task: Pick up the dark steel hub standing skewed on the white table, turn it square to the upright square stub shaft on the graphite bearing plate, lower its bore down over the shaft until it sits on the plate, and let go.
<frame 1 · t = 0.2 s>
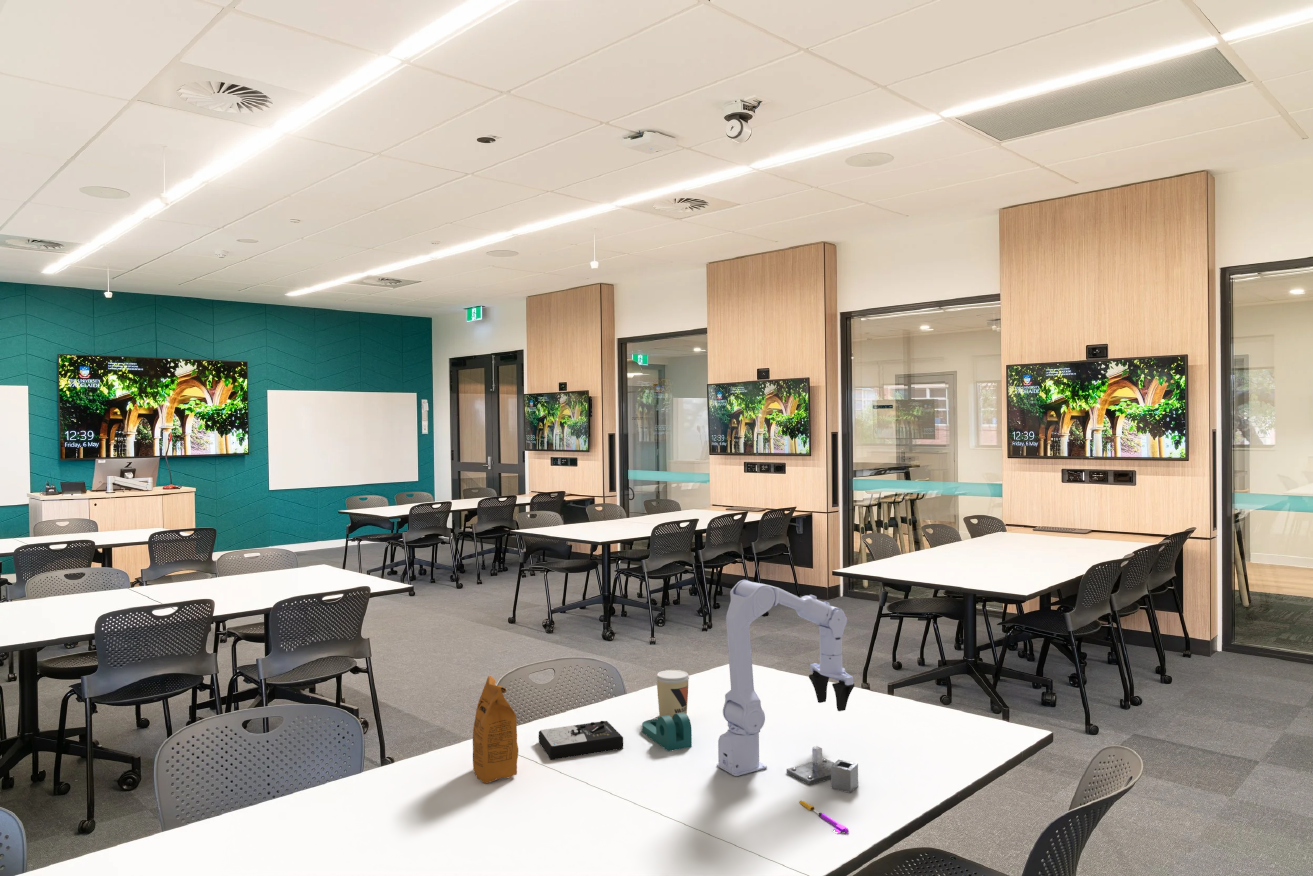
hand: (831, 706, 214), 10 cm above the table, tool pointing down, fingers open, 7 cm apart
bracket: (664, 739, 221), on the table
purple and orange rod: (819, 821, 174), on the table
coffee cup: (673, 717, 238), on the table
coffee package: (494, 774, 199), on the table
steel hub: (844, 787, 189), on the table
bearing plate: (817, 773, 197), on the table
black printed box: (580, 748, 217), on the table
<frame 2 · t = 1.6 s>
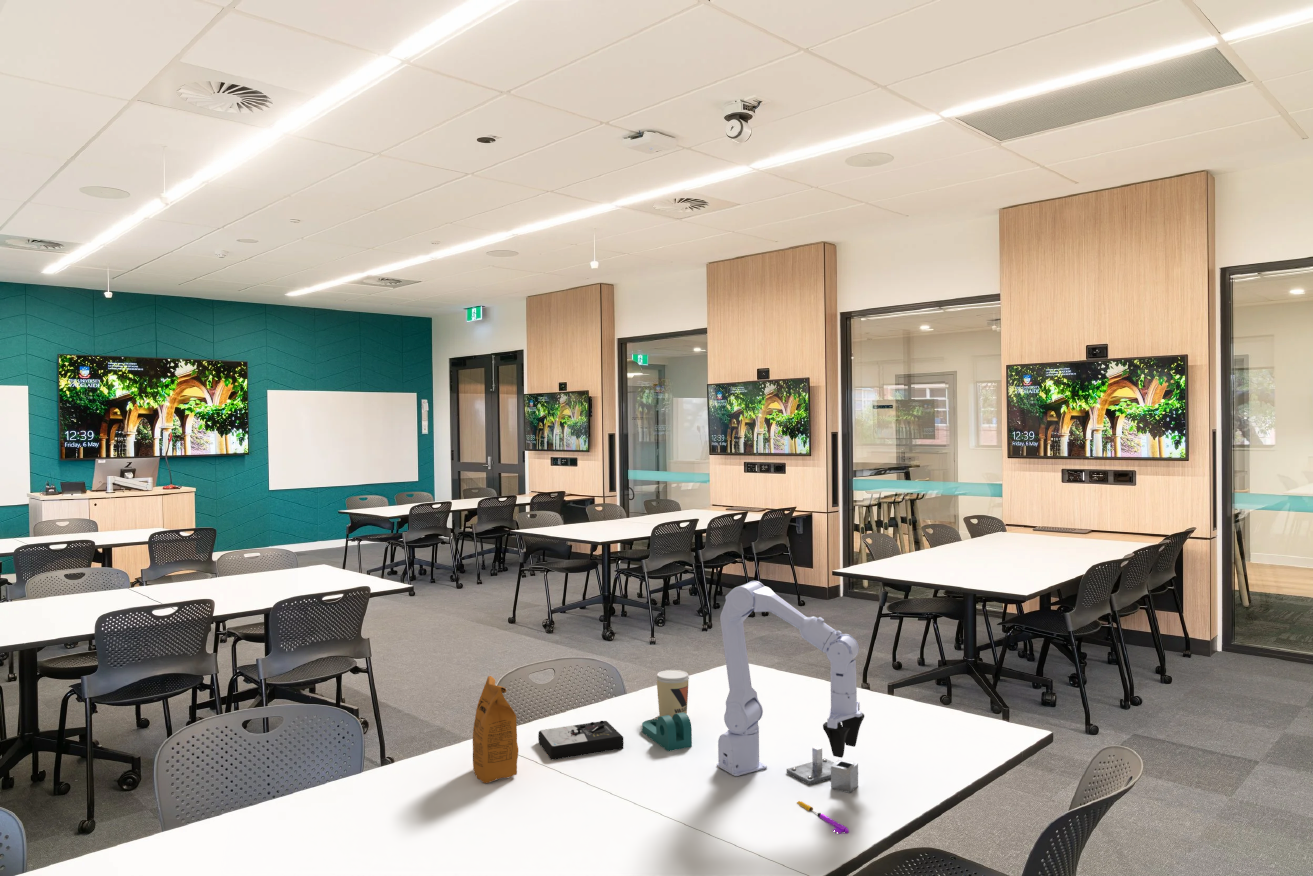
hand: (844, 751, 189), 8 cm above the table, tool pointing down, fingers open, 7 cm apart
nothing on the table moved.
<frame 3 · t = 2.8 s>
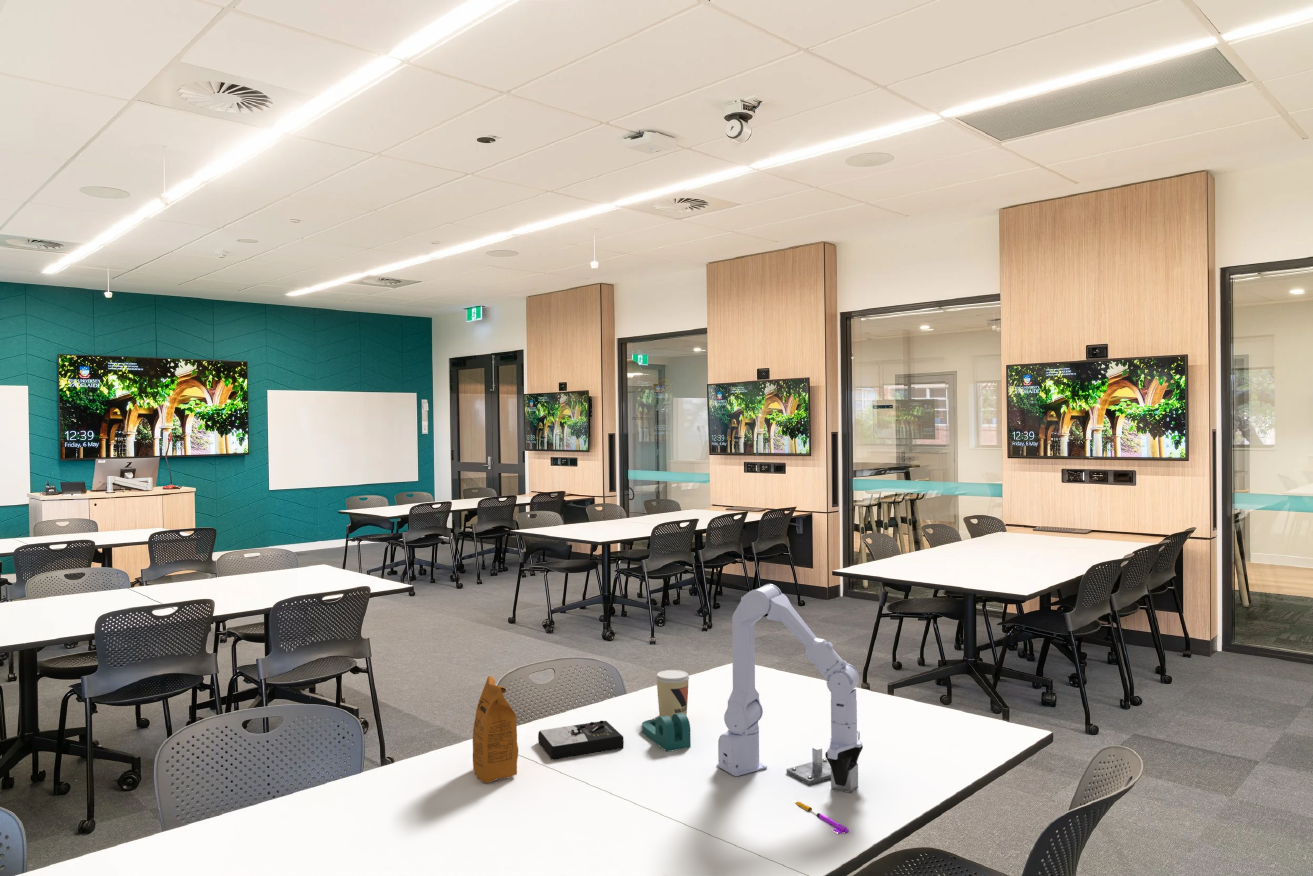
hand: (844, 780, 189), 1 cm above the table, tool pointing down, fingers closed on steel hub, 5 cm apart
steel hub: (844, 787, 189), on the table, touching gripper
everything else where it was.
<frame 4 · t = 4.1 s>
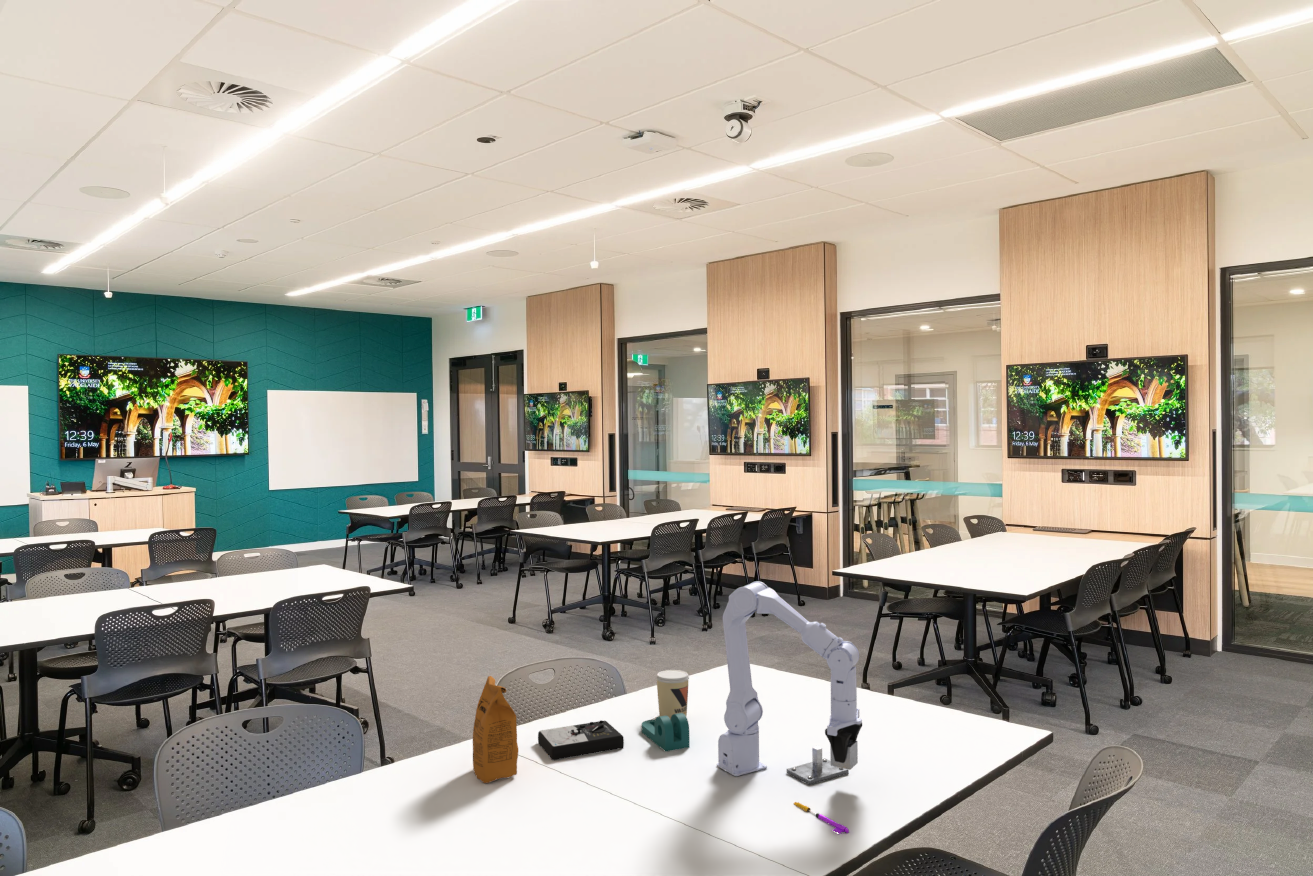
hand: (844, 758, 189), 7 cm above the table, tool pointing down, fingers closed on steel hub, 5 cm apart
steel hub: (844, 764, 189), point 5 cm above the table, touching gripper
everything else where it was.
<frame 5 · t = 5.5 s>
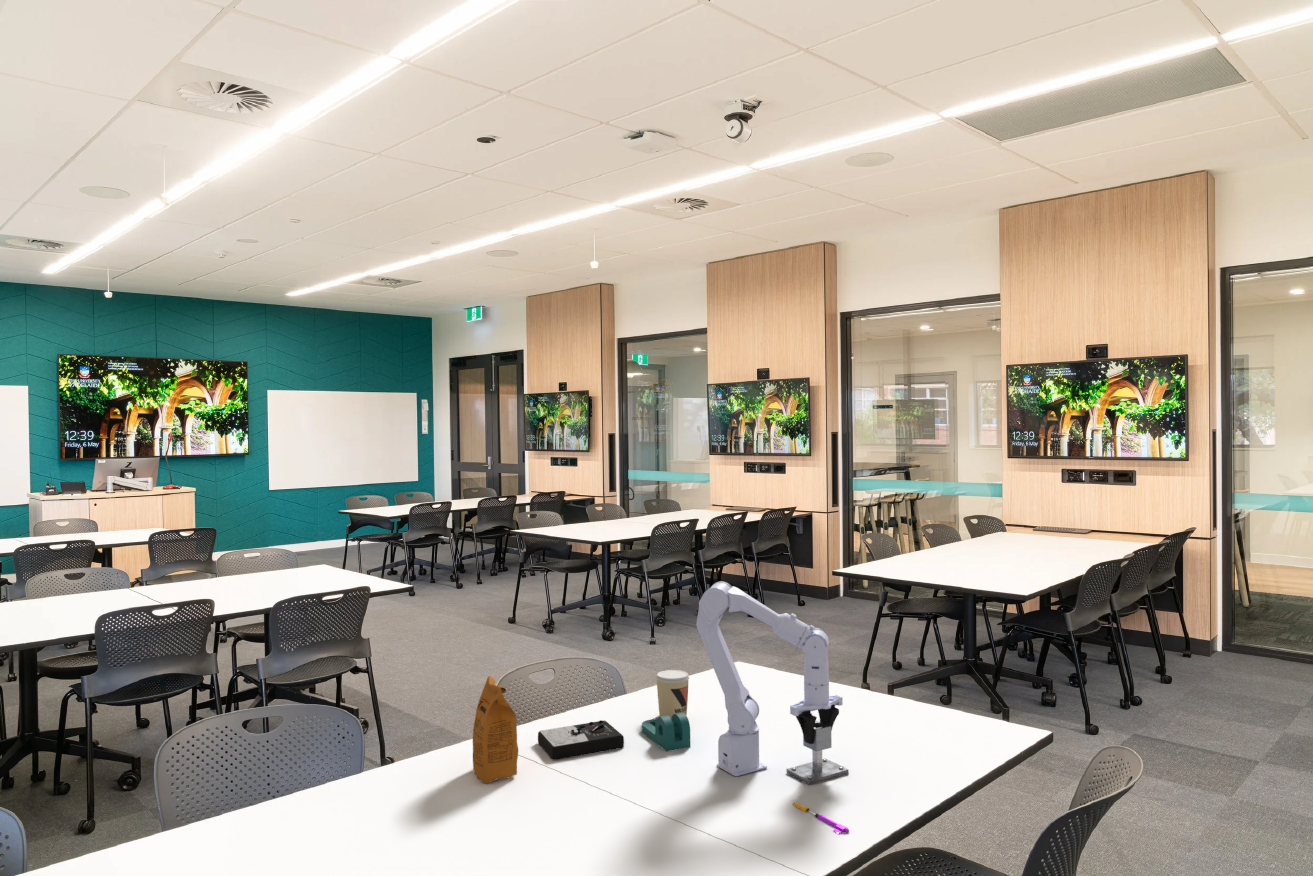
hand: (817, 740, 197), 8 cm above the table, tool pointing down, fingers closed on steel hub, 5 cm apart
steel hub: (817, 746, 197), point 6 cm above the table, touching gripper
everything else where it was.
when the fingers open (4 cm above the table, at t = 6.9 s): steel hub drops 1 cm, resting on bearing plate.
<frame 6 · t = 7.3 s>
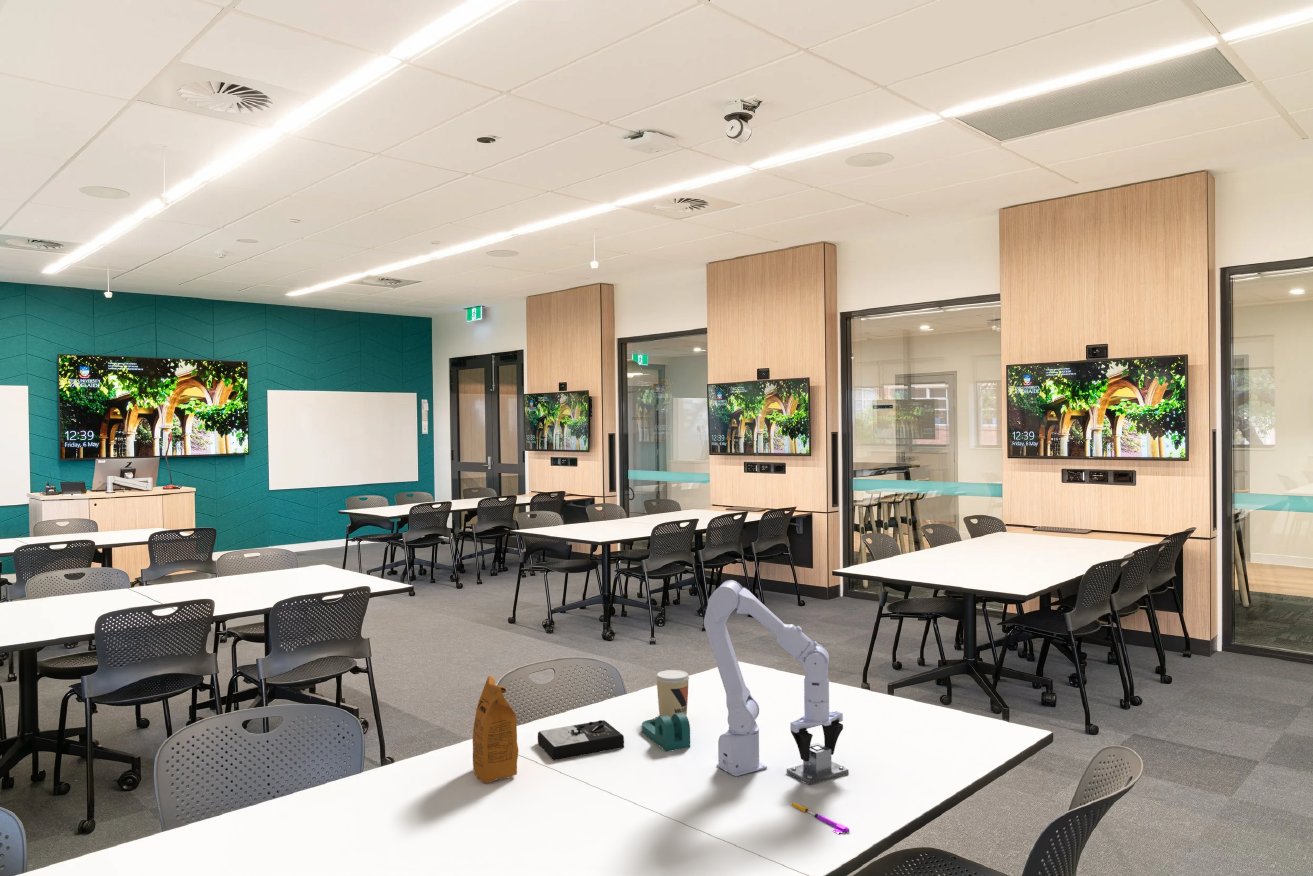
hand: (817, 756, 197), 4 cm above the table, tool pointing down, fingers open, 7 cm apart
steel hub: (817, 769, 197), point 1 cm above the table, touching bearing plate
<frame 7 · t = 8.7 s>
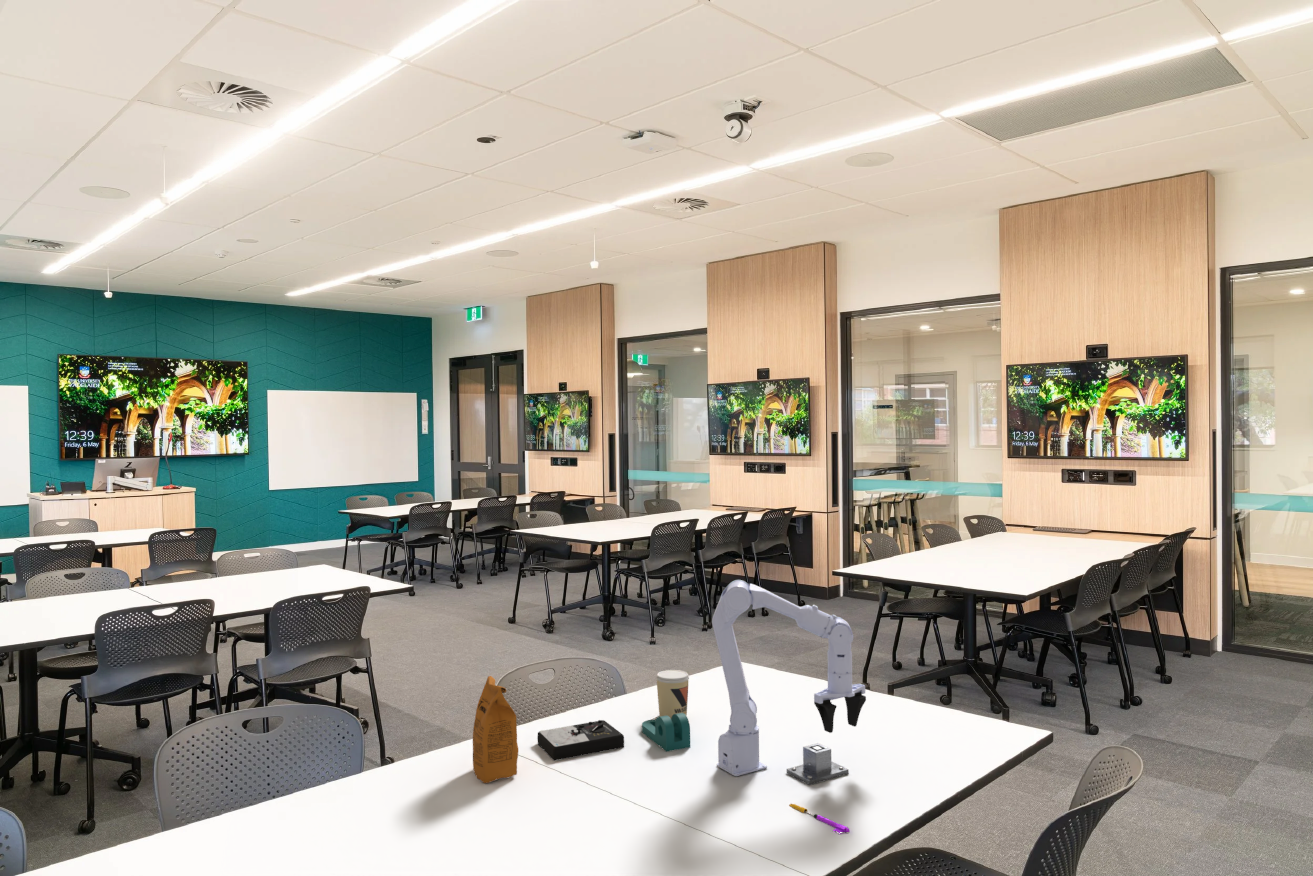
hand: (840, 728, 199), 10 cm above the table, tool pointing down, fingers open, 7 cm apart
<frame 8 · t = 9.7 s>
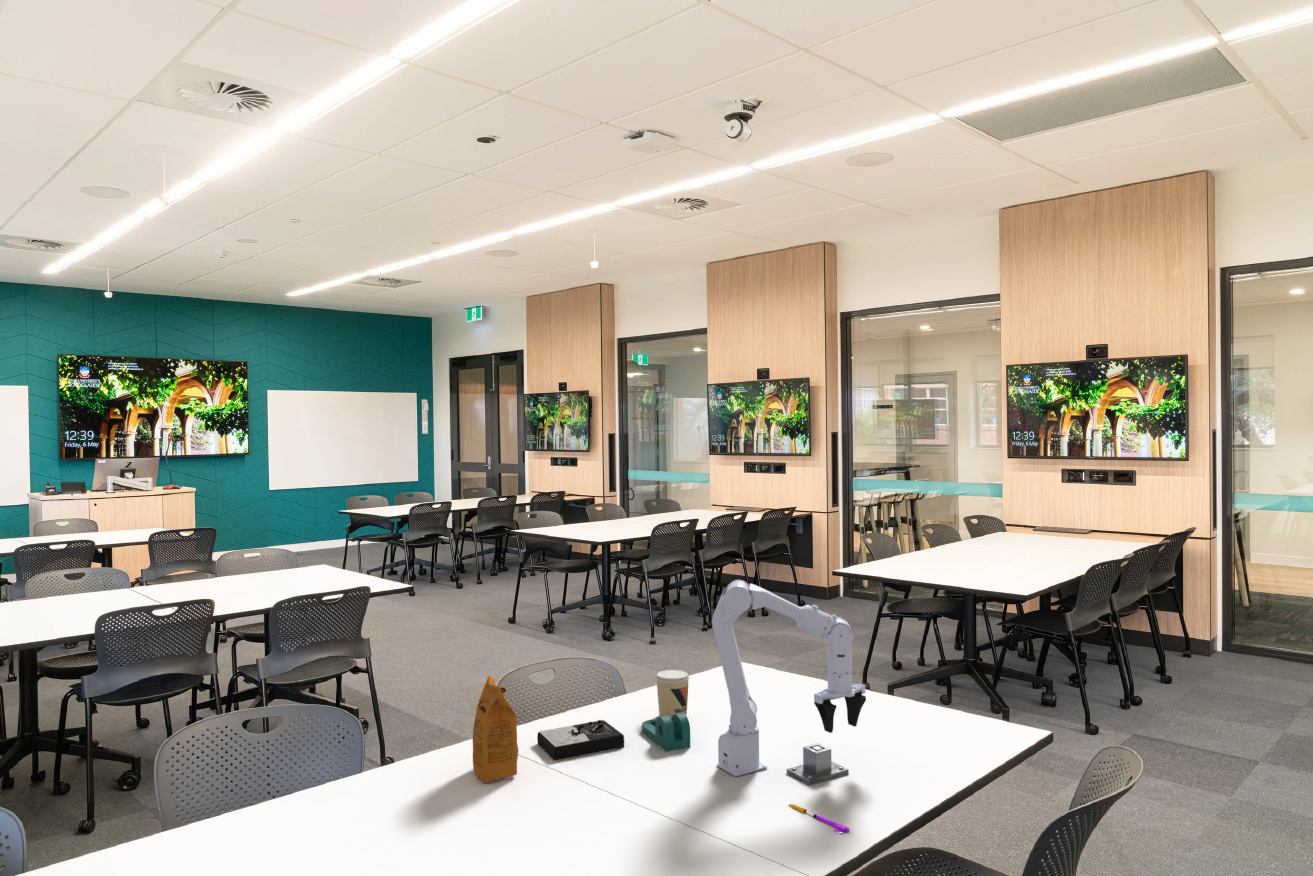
hand: (840, 728, 199), 10 cm above the table, tool pointing down, fingers open, 7 cm apart
at the end: steel hub 0.0 cm off-centre on the bearing plate, point 1.0 cm above the bearing plate's base; steel hub tilted 0°; the gripper is holding nothing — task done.
